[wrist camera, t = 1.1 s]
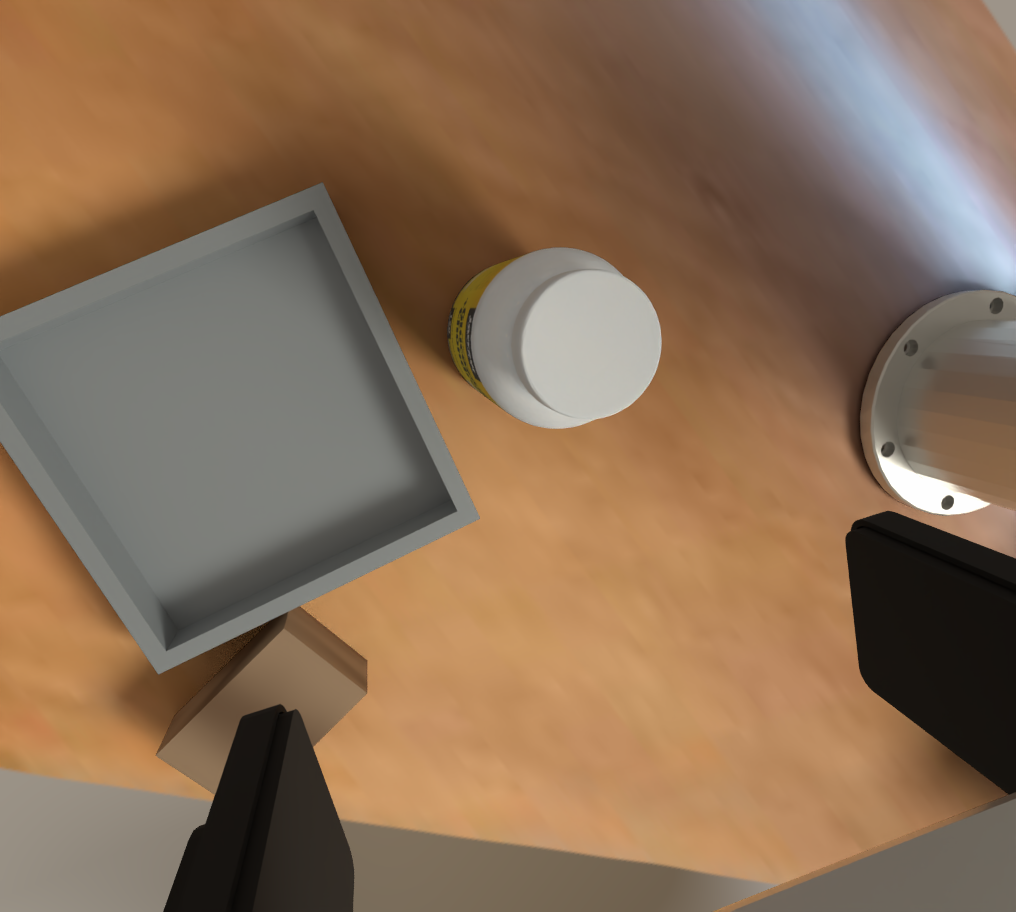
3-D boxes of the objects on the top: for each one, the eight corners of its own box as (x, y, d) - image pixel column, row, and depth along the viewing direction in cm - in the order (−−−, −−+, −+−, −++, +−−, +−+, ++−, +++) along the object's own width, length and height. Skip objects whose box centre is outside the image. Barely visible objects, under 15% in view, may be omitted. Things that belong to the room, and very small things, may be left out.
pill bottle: (437, 269, 30) (478, 243, 19) (571, 257, 31) (685, 226, 20) (453, 408, 32) (500, 460, 20) (581, 392, 33) (691, 432, 22)
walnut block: (291, 600, 32) (284, 628, 29) (367, 660, 33) (367, 693, 30) (174, 715, 32) (155, 755, 29) (255, 771, 33) (244, 814, 30)
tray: (326, 193, 28) (322, 182, 26) (471, 503, 33) (480, 518, 30) (-27, 341, 27) (-67, 344, 24) (175, 645, 31) (158, 674, 29)
